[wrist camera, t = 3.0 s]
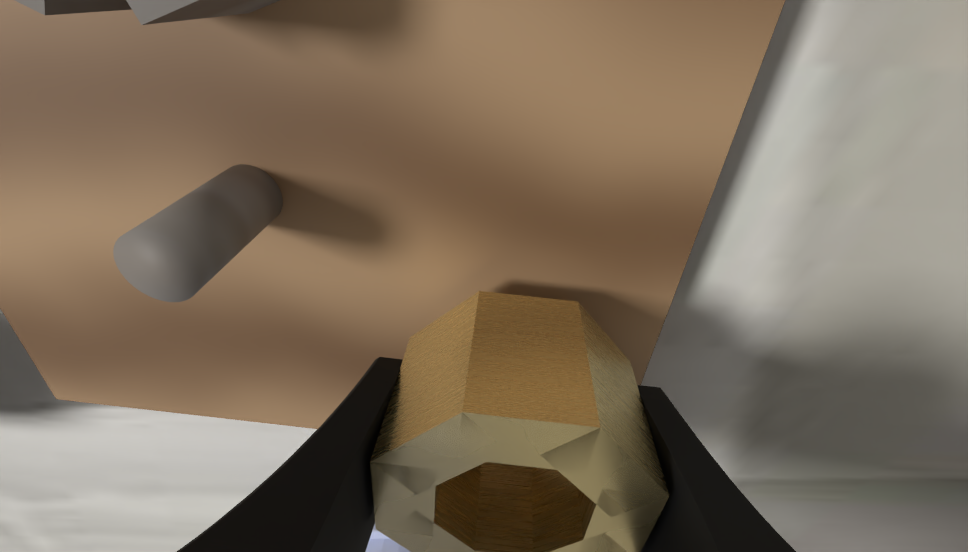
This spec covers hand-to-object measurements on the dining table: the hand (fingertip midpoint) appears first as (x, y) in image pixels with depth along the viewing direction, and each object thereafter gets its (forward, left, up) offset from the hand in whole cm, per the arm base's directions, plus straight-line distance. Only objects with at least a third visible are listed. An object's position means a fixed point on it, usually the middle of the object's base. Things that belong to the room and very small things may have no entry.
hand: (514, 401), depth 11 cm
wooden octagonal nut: (0, 0, -1) cm, 1 cm away
